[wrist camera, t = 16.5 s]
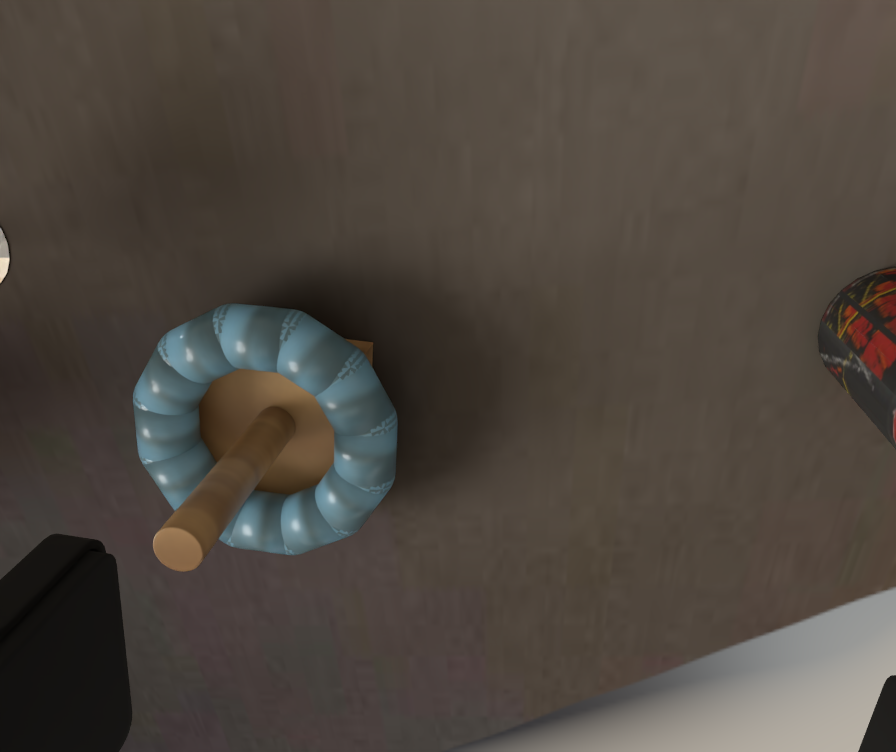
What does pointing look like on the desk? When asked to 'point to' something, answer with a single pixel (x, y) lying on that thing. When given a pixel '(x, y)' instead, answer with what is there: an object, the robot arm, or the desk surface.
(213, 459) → the ring
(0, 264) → the wineglass
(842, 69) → the desk surface
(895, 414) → the deodorant
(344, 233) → the desk surface
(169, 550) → the peg stand
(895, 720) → the robot arm
